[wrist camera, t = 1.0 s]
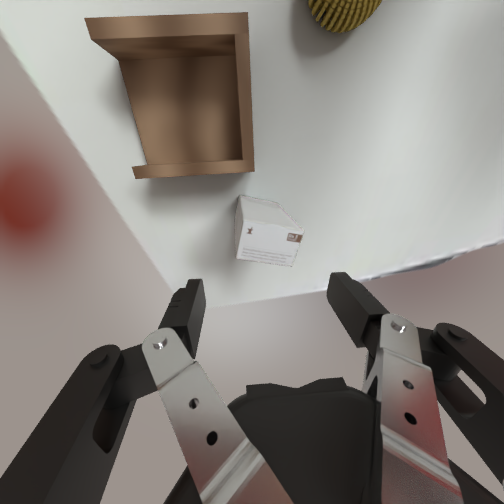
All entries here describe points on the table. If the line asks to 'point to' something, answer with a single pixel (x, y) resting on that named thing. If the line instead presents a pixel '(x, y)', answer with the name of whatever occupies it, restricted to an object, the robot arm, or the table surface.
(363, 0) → the sculpture
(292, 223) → the skincare box
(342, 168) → the table surface
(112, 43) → the u rest
